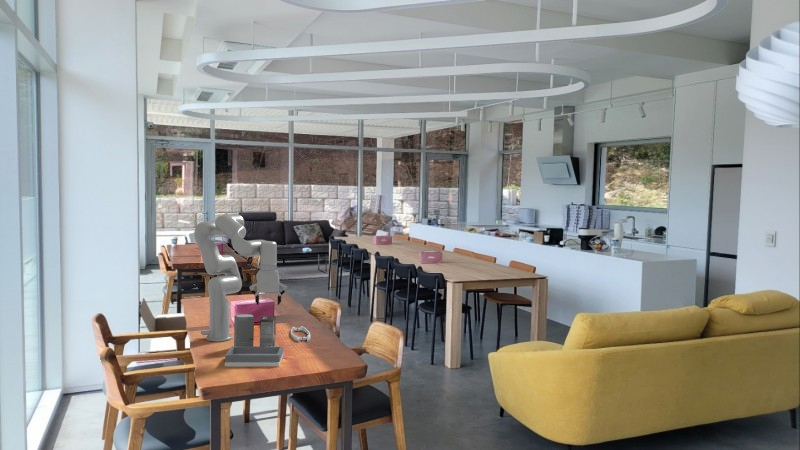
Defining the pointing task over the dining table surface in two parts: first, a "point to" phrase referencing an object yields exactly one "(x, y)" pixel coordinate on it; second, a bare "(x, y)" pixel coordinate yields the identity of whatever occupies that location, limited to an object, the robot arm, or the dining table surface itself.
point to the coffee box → (267, 330)
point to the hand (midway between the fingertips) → (268, 304)
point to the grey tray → (254, 356)
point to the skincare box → (244, 330)
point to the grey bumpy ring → (300, 337)
